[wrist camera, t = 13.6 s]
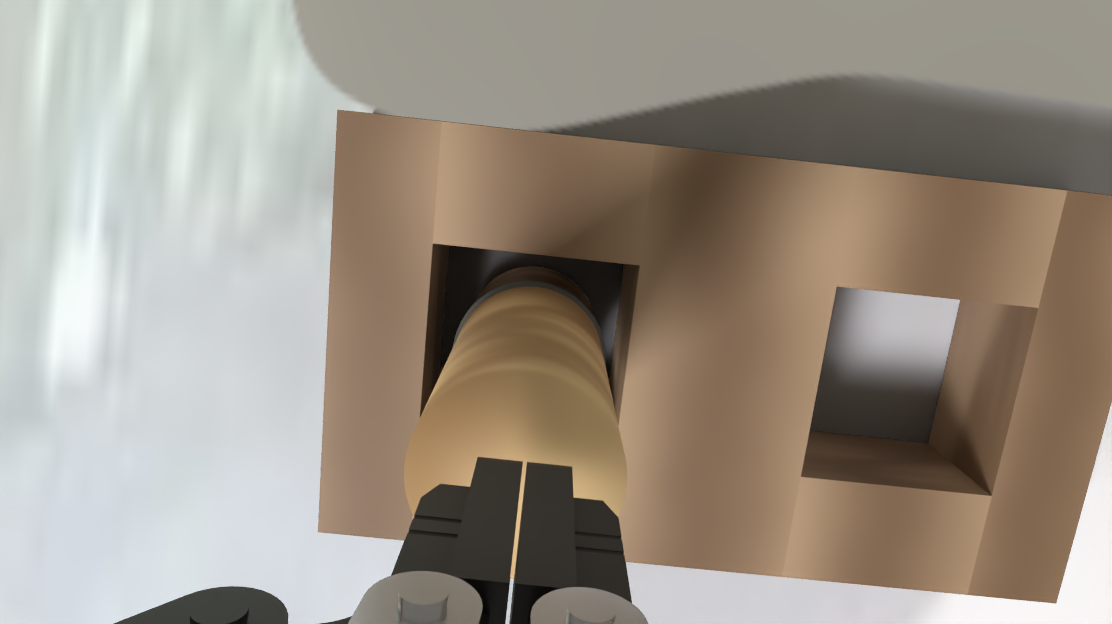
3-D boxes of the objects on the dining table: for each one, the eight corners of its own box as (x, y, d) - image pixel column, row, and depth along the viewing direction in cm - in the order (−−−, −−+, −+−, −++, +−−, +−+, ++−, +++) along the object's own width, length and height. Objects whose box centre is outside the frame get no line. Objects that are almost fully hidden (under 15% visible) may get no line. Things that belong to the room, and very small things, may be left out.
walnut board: (1070, 190, 25) (1166, 201, 21) (984, 536, 28) (1056, 603, 24) (372, 113, 24) (337, 109, 21) (352, 474, 27) (317, 531, 23)
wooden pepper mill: (604, 265, 26) (648, 379, 14) (589, 389, 26) (616, 594, 15) (474, 251, 25) (406, 353, 14) (462, 376, 26) (390, 571, 15)
